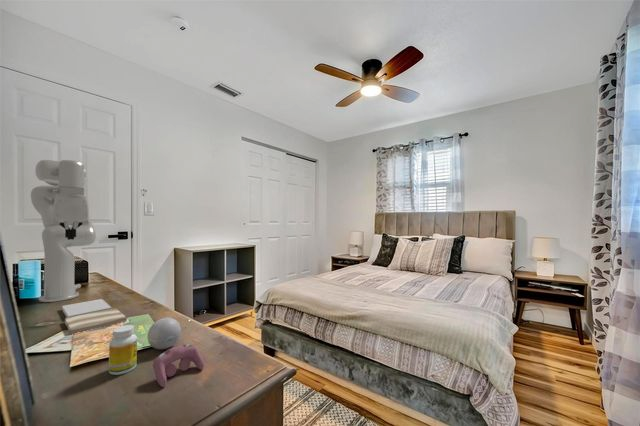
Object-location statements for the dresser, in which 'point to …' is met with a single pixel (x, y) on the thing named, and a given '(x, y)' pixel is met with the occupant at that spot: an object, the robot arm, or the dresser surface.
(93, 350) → the dresser surface
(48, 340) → the dresser surface
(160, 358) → the video game controller
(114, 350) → the supplement bottle
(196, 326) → the dresser surface
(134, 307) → the dresser surface
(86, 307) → the grey plank
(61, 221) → the robot arm
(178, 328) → the bath bomb
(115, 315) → the birch board
